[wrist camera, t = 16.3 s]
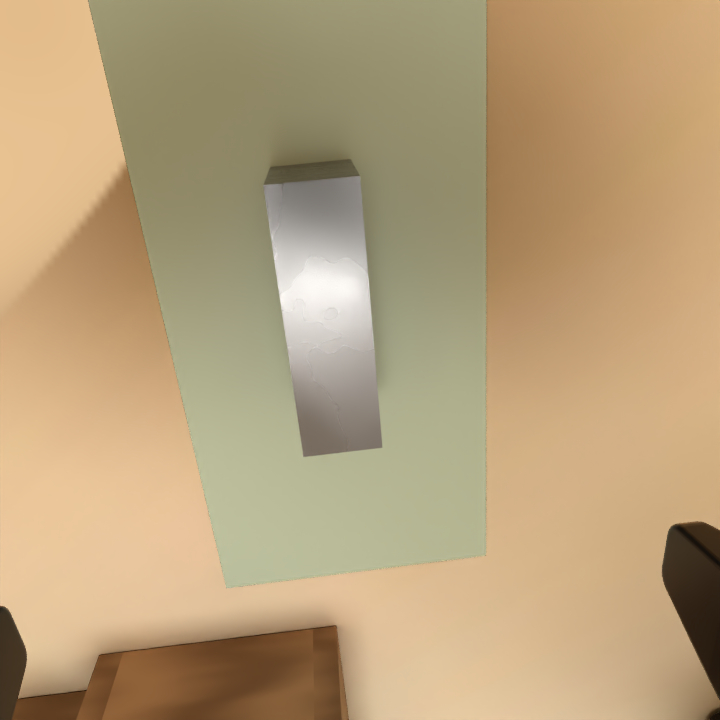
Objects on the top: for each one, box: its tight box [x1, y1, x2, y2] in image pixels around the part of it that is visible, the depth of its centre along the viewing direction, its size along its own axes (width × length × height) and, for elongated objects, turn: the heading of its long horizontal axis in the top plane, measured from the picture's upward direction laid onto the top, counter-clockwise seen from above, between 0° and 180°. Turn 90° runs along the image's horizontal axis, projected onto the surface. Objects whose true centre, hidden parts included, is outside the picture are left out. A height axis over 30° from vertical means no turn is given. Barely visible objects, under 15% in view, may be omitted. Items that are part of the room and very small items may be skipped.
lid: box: [88, 0, 487, 588], centre depth 19 cm, size 11×24×4 cm, turn 5°
